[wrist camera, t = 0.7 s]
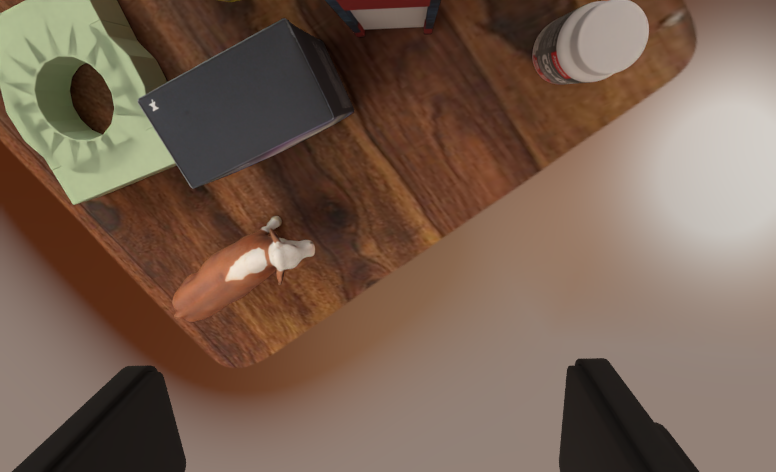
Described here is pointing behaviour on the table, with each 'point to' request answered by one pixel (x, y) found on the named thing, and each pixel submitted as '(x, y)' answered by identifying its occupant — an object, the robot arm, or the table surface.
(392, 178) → the table surface
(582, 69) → the pill bottle
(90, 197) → the socket plate
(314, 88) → the small box
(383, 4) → the book
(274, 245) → the bull figurine
